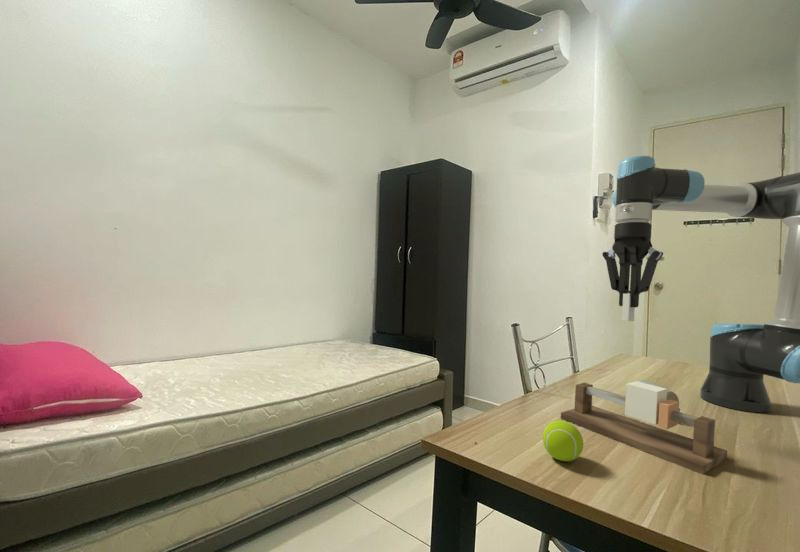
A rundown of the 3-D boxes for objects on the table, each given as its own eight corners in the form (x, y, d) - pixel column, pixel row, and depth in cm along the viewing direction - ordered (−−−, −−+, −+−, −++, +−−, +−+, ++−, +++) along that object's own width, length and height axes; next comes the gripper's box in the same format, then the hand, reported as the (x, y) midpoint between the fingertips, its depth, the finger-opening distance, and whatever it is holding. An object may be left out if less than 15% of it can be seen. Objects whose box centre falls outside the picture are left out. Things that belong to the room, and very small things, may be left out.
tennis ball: (545, 446, 75) (546, 412, 75) (583, 456, 71) (585, 420, 71) (538, 461, 69) (540, 423, 69) (580, 473, 65) (582, 433, 65)
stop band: (668, 422, 78) (669, 399, 78) (677, 424, 77) (678, 401, 77) (658, 426, 76) (659, 403, 76) (667, 429, 74) (668, 405, 74)
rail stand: (588, 410, 96) (589, 379, 96) (726, 458, 73) (729, 417, 73) (560, 418, 90) (562, 385, 90) (703, 474, 66) (705, 429, 66)
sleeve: (634, 411, 84) (636, 381, 84) (665, 420, 79) (667, 388, 79) (624, 414, 81) (626, 383, 81) (655, 424, 76) (657, 391, 76)
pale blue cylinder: (660, 421, 91) (662, 390, 91) (629, 409, 99) (631, 380, 99) (689, 418, 95) (691, 388, 94) (657, 406, 102) (659, 378, 102)
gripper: (597, 223, 93) (592, 317, 93) (656, 218, 82) (650, 325, 83) (613, 226, 97) (608, 316, 98) (670, 222, 86) (665, 323, 87)
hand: (627, 320), depth 90 cm, fingers closed
